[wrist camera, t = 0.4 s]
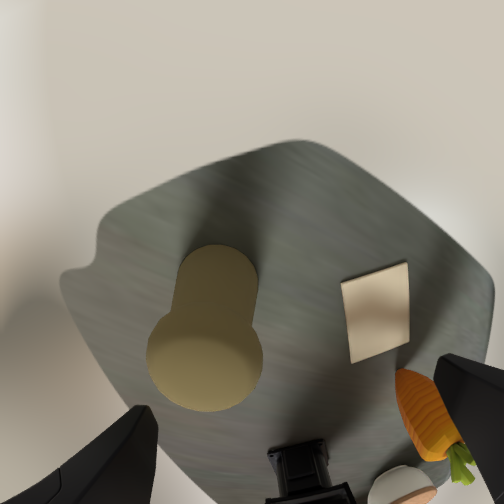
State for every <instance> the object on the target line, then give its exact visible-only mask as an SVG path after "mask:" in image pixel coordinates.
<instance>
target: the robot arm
mask: <svg viewBox="0 0 504 504" xmlns="http://www.w3.org/2000/svg"><path fill="white" fill-rule="evenodd" d="M433 379H434V383H435V385H436V388H437V390H438V392H439V394H440V396H441V398H442V400H443V403H444V405H445V407H446V409H447V412H448V414H449V416H450V418H451V420H452V421H453V423H454V425H455V427H456V428H457V430H458V432H459V434H460V435H461V437H462V439H463V441H464V443H465V444H466V446H467V448H468V450H469V452H470V454H471V456H472V457H473V459H474V461H475V463H476V465H477V467H478V469H479V471H480V473H481V475H482V477H483V479H484V481H485V483H486V485H487V487H488V489H489V492H490V494H491V496H492V498H493V500H494V501H495V502H494V503H495V504H504V370H501V369H498V368H495V367H492V366H489V365H485V364H482V363H479V362H476V361H473V360H470V359H466V358H463V357H460V356H457V355H454V354H451V353H448V354H445V355H443V356H440V357H439V359H438V361H437V365H436V369H435V372H434V378H433ZM157 441H158V424H157V421H156V419H155V417H154V415H153V413H152V411H151V409H150V407H149V406H147V405H135V406H133V407H132V408H131V409H130V410H129V411H128V412H126V413H125V414H124V415H123V416H122V417H121V418H119V419H118V420H117V421H116V422H114V423H113V424H112V425H111V426H110V427H108V428H107V429H106V430H105V431H104V432H102V433H101V434H100V435H99V436H98V437H96V438H95V439H94V440H93V441H91V442H90V443H89V444H88V445H86V446H85V447H84V448H83V449H82V450H80V451H79V452H78V453H76V454H75V455H74V456H73V457H71V458H70V459H69V460H68V461H67V462H65V463H64V464H63V465H61V466H60V468H57V469H56V470H55V471H53V472H52V473H51V474H50V475H48V476H47V477H45V478H44V479H42V480H41V481H40V482H38V483H36V484H35V485H33V486H31V487H30V488H28V489H27V490H25V491H23V492H21V493H20V494H18V495H16V496H14V497H12V498H10V499H8V500H7V501H5V502H3V503H0V504H150V498H151V492H152V487H153V481H154V476H155V469H156V456H157ZM267 456H268V459H269V461H270V463H271V465H272V467H273V469H274V471H275V473H276V475H277V479H278V487H279V494H280V497H279V498H272V499H271V498H267V499H266V503H265V504H357V503H356V501H355V499H354V496H353V494H352V492H351V490H350V487H349V485H348V483H347V482H344V483H342V484H339V485H336V486H332V483H331V479H330V476H329V472H328V469H327V466H328V465H329V464H328V458H327V452H326V447H325V442H324V440H323V439H320V440H316V441H312V442H308V443H305V444H301V445H297V446H292V447H288V448H284V449H279V450H274V451H270V452H268V453H267Z"/></svg>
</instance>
